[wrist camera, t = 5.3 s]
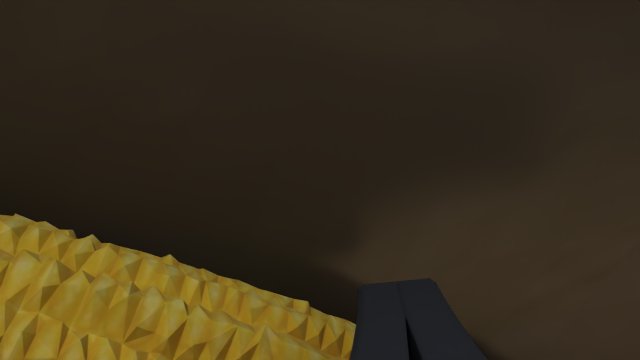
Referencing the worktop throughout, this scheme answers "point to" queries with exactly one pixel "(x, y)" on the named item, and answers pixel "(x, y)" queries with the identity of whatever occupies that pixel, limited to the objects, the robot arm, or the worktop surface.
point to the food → (143, 306)
